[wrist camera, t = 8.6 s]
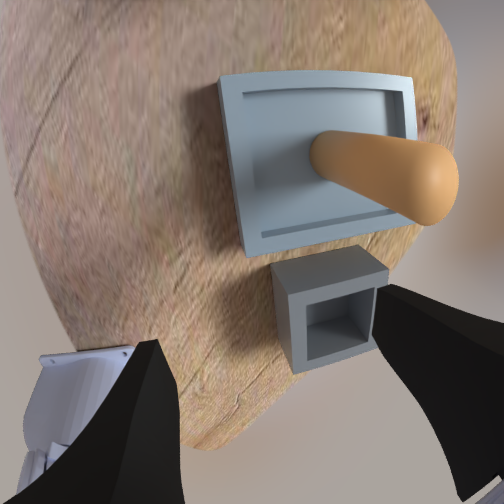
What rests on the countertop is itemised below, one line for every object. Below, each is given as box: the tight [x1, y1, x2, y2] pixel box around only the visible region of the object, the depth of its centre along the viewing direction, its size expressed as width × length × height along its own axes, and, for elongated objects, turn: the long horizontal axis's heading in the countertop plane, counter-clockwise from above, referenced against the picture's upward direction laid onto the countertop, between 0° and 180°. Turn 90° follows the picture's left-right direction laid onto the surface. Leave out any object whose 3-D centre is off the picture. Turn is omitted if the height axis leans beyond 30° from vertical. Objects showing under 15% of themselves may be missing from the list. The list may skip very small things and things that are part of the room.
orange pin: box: [309, 130, 459, 226], centre depth 13 cm, size 3×3×8 cm
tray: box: [217, 70, 417, 258], centre depth 16 cm, size 12×10×2 cm
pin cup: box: [270, 245, 389, 375], centre depth 20 cm, size 7×7×4 cm
